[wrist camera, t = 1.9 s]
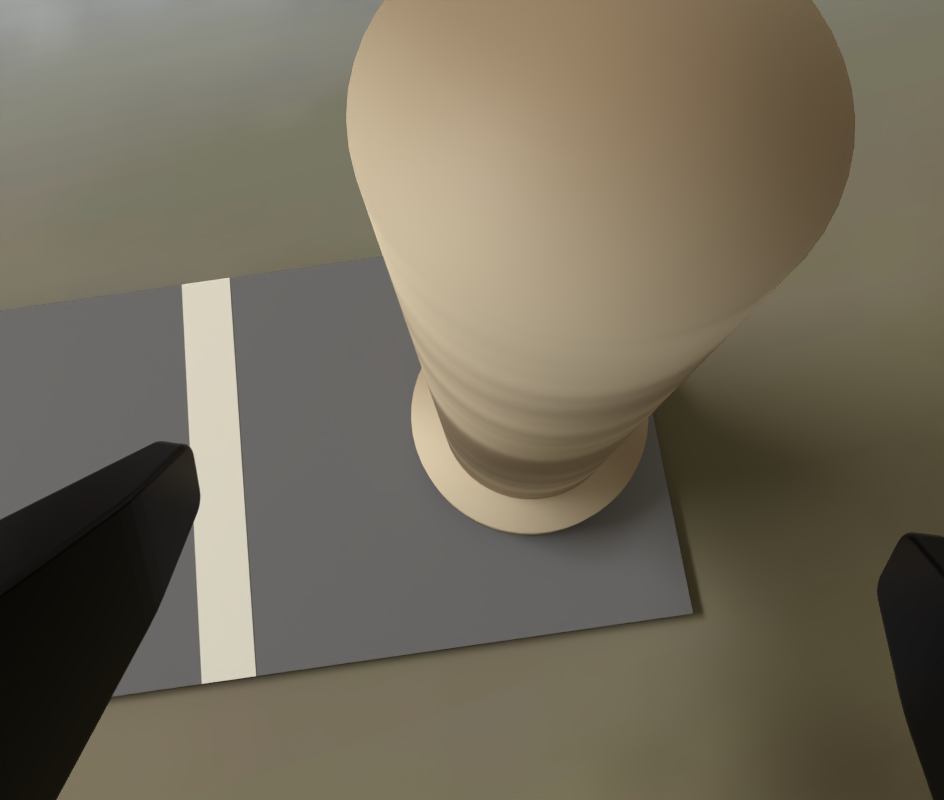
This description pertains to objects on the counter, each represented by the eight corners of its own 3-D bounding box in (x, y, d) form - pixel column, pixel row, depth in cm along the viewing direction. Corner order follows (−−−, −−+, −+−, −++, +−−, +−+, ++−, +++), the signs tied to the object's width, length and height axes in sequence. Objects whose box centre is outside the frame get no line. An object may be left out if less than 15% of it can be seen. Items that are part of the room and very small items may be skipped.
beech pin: (579, 576, 19) (796, 581, 5) (378, 472, 20) (124, 247, 6) (672, 376, 20) (1042, -32, 7) (478, 286, 21) (451, -247, 7)
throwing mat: (613, 228, 22) (615, 223, 21) (689, 612, 19) (693, 613, 19) (-196, 342, 21) (-206, 339, 21) (-226, 744, 19) (-238, 746, 19)
